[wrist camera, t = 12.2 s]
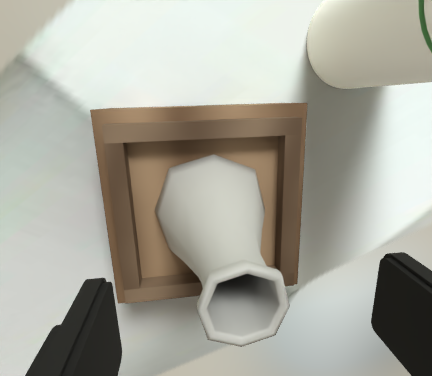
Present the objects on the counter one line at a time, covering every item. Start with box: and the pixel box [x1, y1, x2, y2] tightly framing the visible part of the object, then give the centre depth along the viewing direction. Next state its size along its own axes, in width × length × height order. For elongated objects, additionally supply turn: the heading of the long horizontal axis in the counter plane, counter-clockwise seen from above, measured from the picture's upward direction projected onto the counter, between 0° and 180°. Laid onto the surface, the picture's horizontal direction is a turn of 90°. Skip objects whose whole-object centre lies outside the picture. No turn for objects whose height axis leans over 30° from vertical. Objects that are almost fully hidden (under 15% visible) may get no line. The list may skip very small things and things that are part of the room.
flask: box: [155, 154, 290, 347], centre depth 15 cm, size 7×7×10 cm
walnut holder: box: [90, 103, 307, 303], centre depth 21 cm, size 13×13×6 cm
